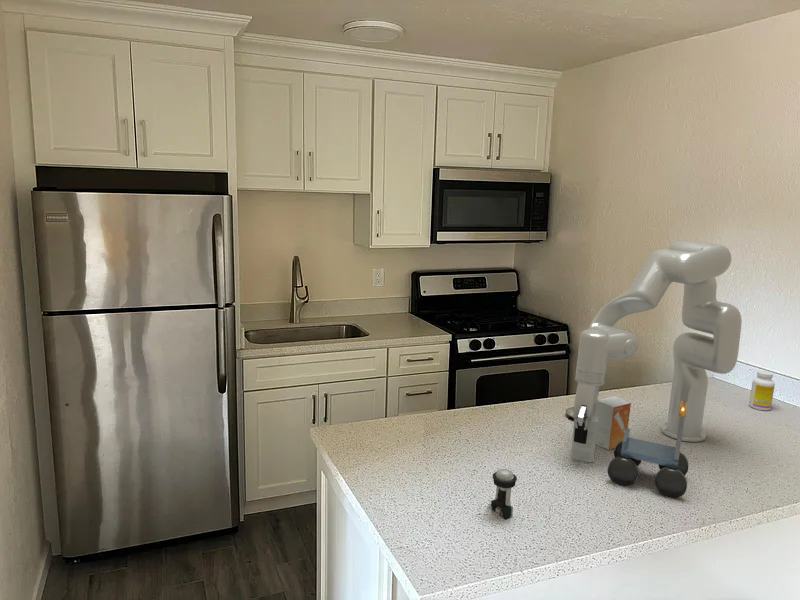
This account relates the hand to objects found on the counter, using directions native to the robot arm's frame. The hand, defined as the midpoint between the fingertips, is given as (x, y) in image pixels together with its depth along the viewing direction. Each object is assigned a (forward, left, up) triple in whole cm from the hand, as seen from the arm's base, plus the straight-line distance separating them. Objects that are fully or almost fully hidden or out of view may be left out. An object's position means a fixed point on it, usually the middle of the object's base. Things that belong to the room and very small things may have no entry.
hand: (583, 436), depth 162 cm
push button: (+39, -11, -7) cm, 41 cm away
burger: (-31, -5, -7) cm, 32 cm away
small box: (-14, +5, -7) cm, 17 cm away
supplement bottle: (-75, +47, -7) cm, 89 cm away
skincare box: (0, 0, -7) cm, 7 cm away
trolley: (+4, +17, -6) cm, 19 cm away
